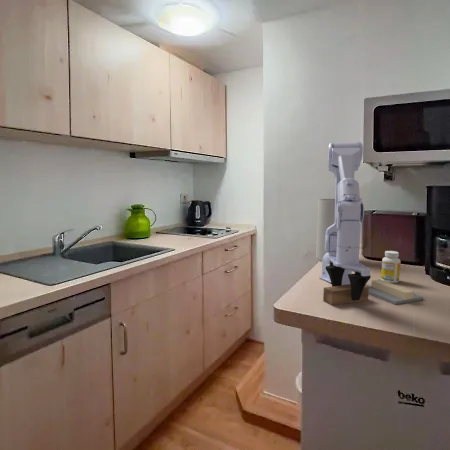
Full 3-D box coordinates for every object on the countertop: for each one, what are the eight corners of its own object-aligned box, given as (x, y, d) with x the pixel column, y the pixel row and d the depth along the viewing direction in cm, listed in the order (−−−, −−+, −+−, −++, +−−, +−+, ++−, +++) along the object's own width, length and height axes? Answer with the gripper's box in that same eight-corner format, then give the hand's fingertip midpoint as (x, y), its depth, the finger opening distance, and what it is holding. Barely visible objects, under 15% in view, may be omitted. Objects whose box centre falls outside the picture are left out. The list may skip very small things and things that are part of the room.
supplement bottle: (386, 283, 106) (388, 253, 105) (377, 278, 112) (379, 250, 111) (402, 283, 107) (404, 253, 106) (392, 278, 112) (394, 250, 111)
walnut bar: (323, 301, 91) (323, 287, 90) (358, 296, 95) (359, 283, 94) (331, 306, 88) (332, 291, 87) (367, 300, 92) (368, 286, 91)
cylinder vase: (309, 257, 143) (311, 199, 140) (332, 255, 148) (334, 198, 145) (330, 264, 132) (332, 200, 129) (354, 261, 137) (357, 199, 134)
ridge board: (361, 290, 99) (362, 281, 99) (387, 287, 103) (388, 278, 102) (394, 304, 88) (395, 294, 88) (422, 299, 91) (423, 289, 91)
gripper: (318, 242, 95) (317, 289, 96) (355, 252, 81) (352, 306, 83) (339, 241, 97) (337, 286, 99) (377, 250, 84) (374, 302, 85)
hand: (345, 295), depth 91 cm, fingers open, 7 cm apart
